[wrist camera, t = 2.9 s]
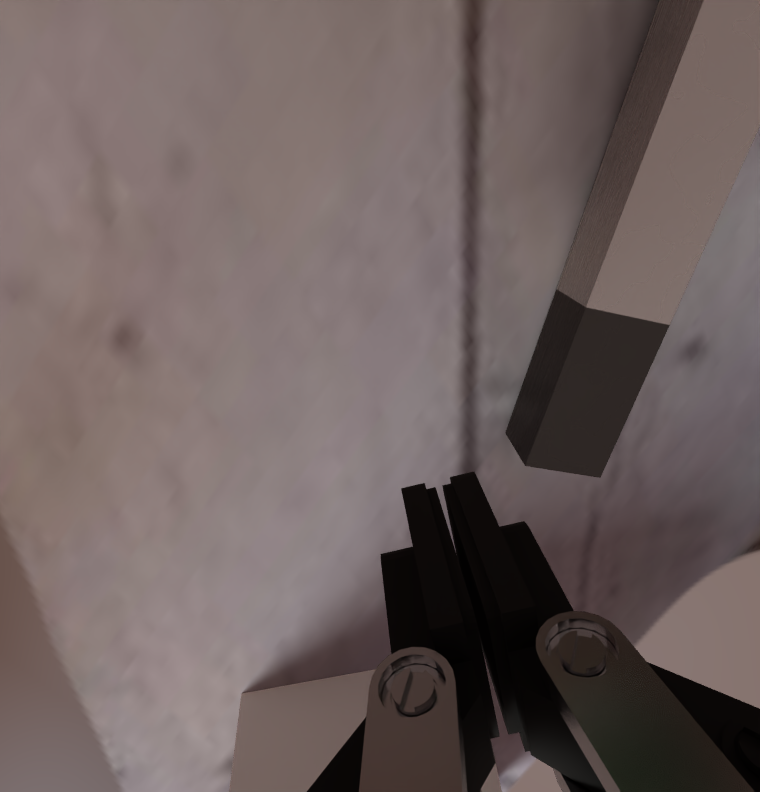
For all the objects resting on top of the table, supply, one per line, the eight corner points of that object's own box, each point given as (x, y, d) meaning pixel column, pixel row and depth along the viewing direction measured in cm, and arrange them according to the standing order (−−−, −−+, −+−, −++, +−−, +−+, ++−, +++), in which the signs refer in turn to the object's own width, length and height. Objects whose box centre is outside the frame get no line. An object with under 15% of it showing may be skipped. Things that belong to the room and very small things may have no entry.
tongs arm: (878, -617, 11) (1013, -808, 9) (1046, -524, 12) (1209, -679, 10) (505, 432, 22) (525, 465, 19) (608, 450, 22) (638, 483, 20)
